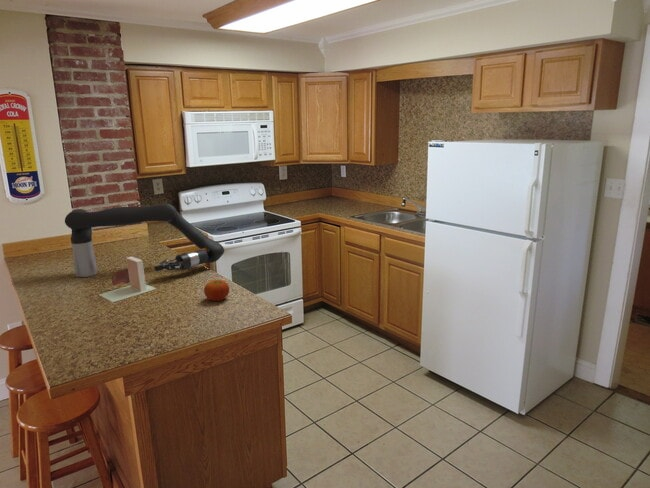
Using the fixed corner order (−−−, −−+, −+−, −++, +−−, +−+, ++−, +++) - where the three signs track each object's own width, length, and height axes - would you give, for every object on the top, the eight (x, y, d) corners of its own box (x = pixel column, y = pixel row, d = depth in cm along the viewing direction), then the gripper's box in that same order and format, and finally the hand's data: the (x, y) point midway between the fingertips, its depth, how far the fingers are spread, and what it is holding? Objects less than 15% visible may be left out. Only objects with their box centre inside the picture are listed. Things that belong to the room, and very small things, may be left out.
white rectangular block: (135, 285, 215) (131, 256, 211) (146, 289, 208) (142, 260, 205) (130, 286, 213) (126, 257, 209) (141, 291, 207) (136, 261, 203)
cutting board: (141, 283, 219) (141, 282, 219) (156, 289, 210) (156, 288, 210) (98, 295, 205) (98, 294, 205) (112, 303, 196) (112, 302, 196)
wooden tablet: (135, 284, 219) (134, 281, 219) (112, 288, 216) (111, 284, 215) (135, 269, 243) (134, 265, 243) (114, 271, 240) (114, 268, 239)
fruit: (203, 296, 200) (201, 279, 198) (227, 293, 204) (226, 275, 201) (206, 305, 190) (204, 287, 188) (232, 301, 194) (230, 283, 192)
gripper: (179, 250, 231) (146, 258, 219) (194, 255, 223) (161, 263, 210) (181, 265, 233) (148, 273, 221) (195, 270, 225) (163, 279, 212)
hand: (155, 269), depth 216 cm, fingers closed
